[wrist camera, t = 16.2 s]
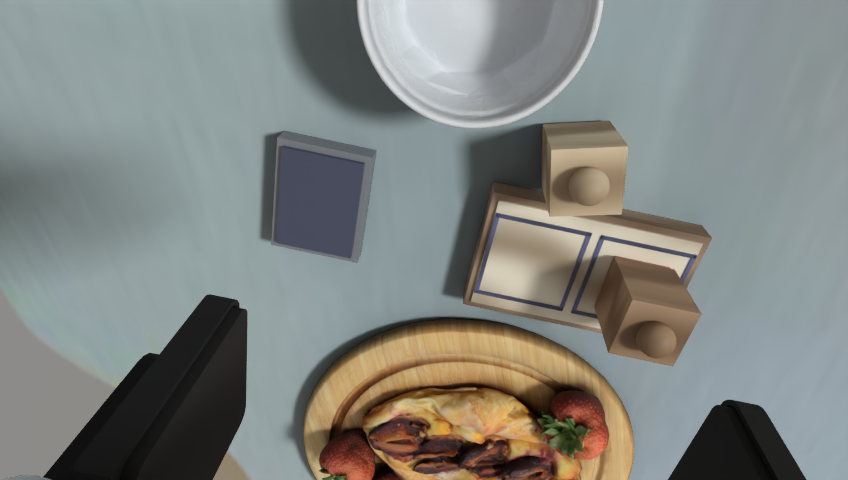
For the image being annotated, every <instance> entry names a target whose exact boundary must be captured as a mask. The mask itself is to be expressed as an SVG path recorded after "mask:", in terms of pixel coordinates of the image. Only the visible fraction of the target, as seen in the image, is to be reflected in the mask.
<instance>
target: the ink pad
mask: <svg viewBox="0 0 848 480" xmlns="http://www.w3.org/2000/svg"><path fill="white" fill-rule="evenodd" d="M376 151H377V150H372V149H368V148H363V147H358V146H353V145H349V144H344V143H339V142H334V141H330V140H325V139H320V138H316V137H311V136H306V135H301V134H297V133H292V132H287V131H284V132H283V133H281V134H280V135H279V136H278V137H277V149H276V167H275V185H274V204H273V222H272V240H271V245H276V246H280V247H285V248H290V249H295V250H299V251H304V252H309V253H314V254H318V255H323V256H328V257H333V258H337V259H342V260H347V261H352V262H356V263H357V262H358V260H359V257H360V255H361V251H362V244H363V237H364V231H365V224H366V217H367V211H368V204H369V197H370V191H371V184H372V177H373V171H374V164H375V157H376Z"/></svg>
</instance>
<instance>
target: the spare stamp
mask: <svg viewBox="0 0 848 480" xmlns="http://www.w3.org/2000/svg"><path fill="white" fill-rule="evenodd" d="M627 156H628V145H627V144H626V142H625V141H624V140H623V138H622V137H621V136H620V134H619V133H618V132H617V130H616V129H615V127H614V126H613V125H612V123H611V122H610V121H595V122H576V123H556V124H543V133H542V177H541V185H542V189H543V193H544V197H545V201H546V205H547V209H548V213H549V217H554V216H588V215H621V214H622V206H623V196H624V186H625V176H626V166H627Z"/></svg>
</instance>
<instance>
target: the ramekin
mask: <svg viewBox="0 0 848 480" xmlns="http://www.w3.org/2000/svg"><path fill="white" fill-rule="evenodd" d="M356 3H357V16H358V23H359V28H360V32H361V36H362V40H363V43H364V46H365V49H366V52H367V54H368V56H369V58H370V60H371V63H372V64H373V66H374V68H375V70H376V71H377V73H378V75H379V76H380V78H381V79H382V81H383V82H384V83H385V84H386V86H387V87H388V88H389V89H390V90H391V92H392V93H393V94H394V95H395V96H396V97H397V98H398V99H400V100H401V101H402V102H403V103H404V104H406V105H407V106H408V107H410V108H411V109H412V110H414V111H415V112H417V113H419V114H420V115H422V116H424V117H426V118H428V119H430V120H433V121H435V122H438V123H441V124H444V125H448V126H453V127H459V128H473V129H477V128H489V127H496V126H501V125H505V124H509V123H512V122H514V121H517V120H519V119H522V118H524V117H526V116H528V115H530V114H532V113H534V112H535V111H537V110H538V109H540V108H541V107H543V106H544V105H545V104H547V103H548V102H549V101H551V100H552V99H553V98H554V97H556V96H557V95H558V94H559V93H560V92H561V91H562V90H563V89H564V88H565V87H566V85H567V84H568V83H569V82H570V81H571V80H572V79H573V77H574V76H575V75H576V73H577V72H578V71H579V69H580V68H581V66H582V64H583V62H584V61H585V59H586V57H587V55H588V54H589V51H590V49H591V47H592V45H593V42H594V39H595V37H596V34H597V31H598V27H599V24H600V19H601V14H602V8H603V0H356Z"/></svg>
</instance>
